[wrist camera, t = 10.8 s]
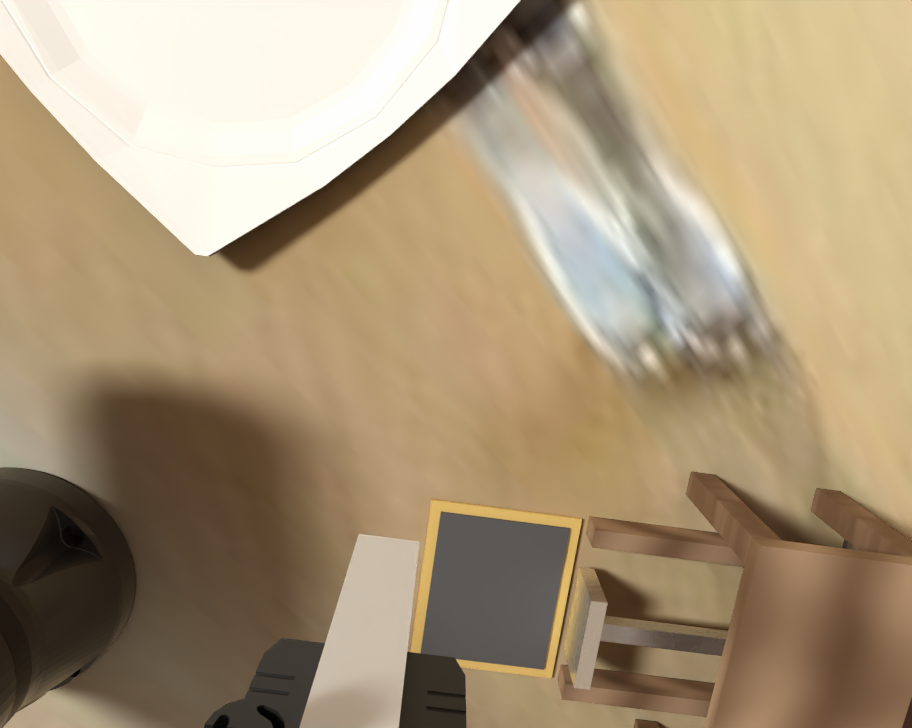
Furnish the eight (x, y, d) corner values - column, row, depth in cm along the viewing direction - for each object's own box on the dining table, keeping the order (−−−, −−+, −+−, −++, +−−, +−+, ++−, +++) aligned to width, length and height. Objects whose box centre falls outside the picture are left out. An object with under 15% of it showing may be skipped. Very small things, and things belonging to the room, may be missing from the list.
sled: (550, 705, 47) (560, 756, 43) (591, 492, 44) (606, 524, 39) (954, 754, 48) (1006, 809, 44) (1024, 549, 45) (1088, 586, 40)
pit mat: (409, 659, 47) (408, 662, 46) (431, 498, 44) (431, 501, 44) (551, 676, 47) (552, 679, 47) (581, 518, 45) (582, 520, 44)
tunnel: (548, 728, 48) (572, 861, 38) (600, 459, 44) (643, 530, 34) (848, 764, 49) (950, 904, 39) (929, 502, 44) (1066, 585, 34)
